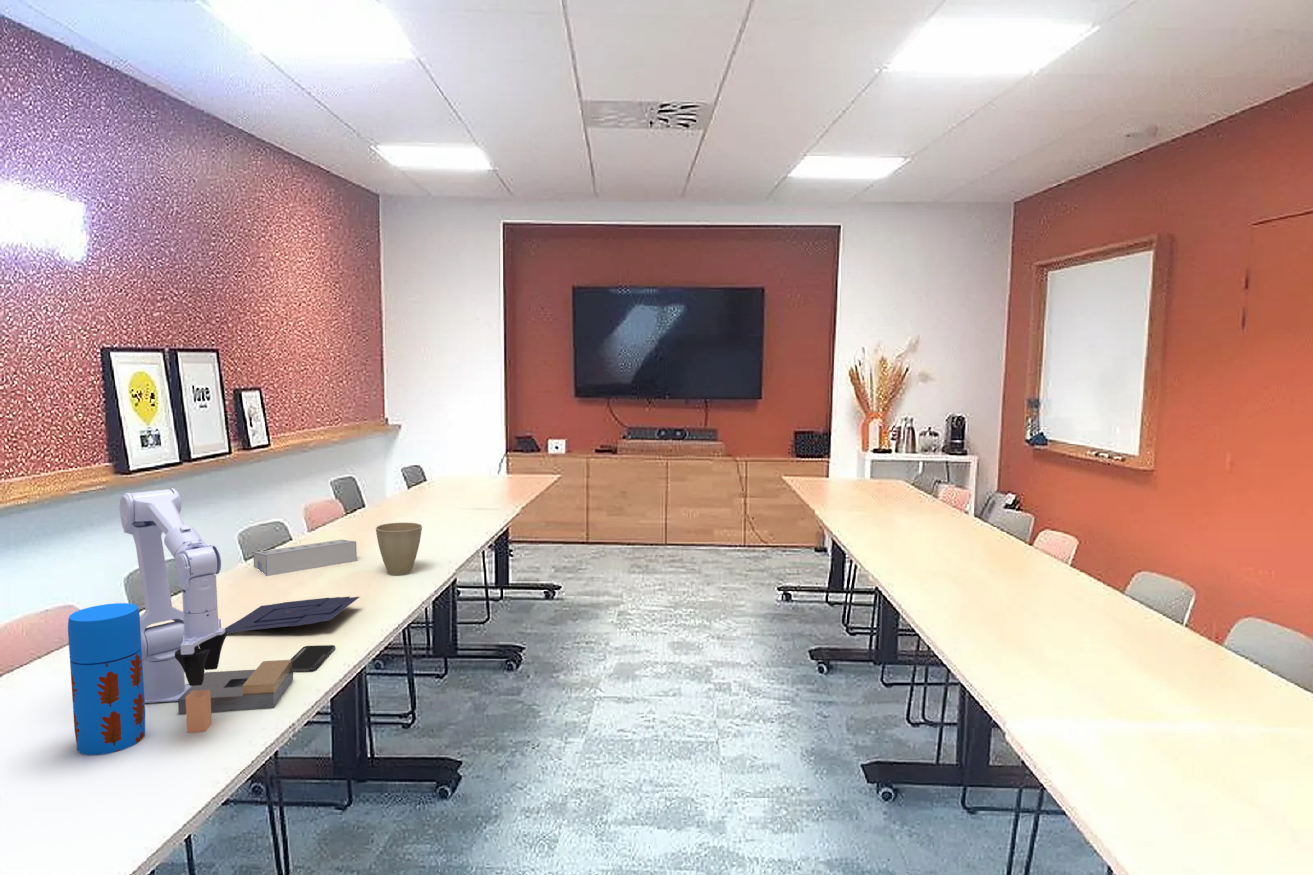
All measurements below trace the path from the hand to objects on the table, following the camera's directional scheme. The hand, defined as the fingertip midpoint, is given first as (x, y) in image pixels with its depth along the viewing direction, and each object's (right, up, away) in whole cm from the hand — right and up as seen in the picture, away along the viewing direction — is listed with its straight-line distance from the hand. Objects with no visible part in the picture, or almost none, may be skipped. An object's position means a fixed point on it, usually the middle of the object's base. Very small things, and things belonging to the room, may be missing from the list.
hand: (203, 676), depth 149 cm
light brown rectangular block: (-1, -10, 0) cm, 10 cm away
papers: (-12, -4, +62) cm, 63 cm away
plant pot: (+1, +1, +111) cm, 111 cm away
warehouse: (-35, +1, +120) cm, 125 cm away
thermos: (-14, -11, -6) cm, 18 cm away
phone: (+5, -7, +34) cm, 36 cm away
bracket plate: (-1, -9, +14) cm, 17 cm away
